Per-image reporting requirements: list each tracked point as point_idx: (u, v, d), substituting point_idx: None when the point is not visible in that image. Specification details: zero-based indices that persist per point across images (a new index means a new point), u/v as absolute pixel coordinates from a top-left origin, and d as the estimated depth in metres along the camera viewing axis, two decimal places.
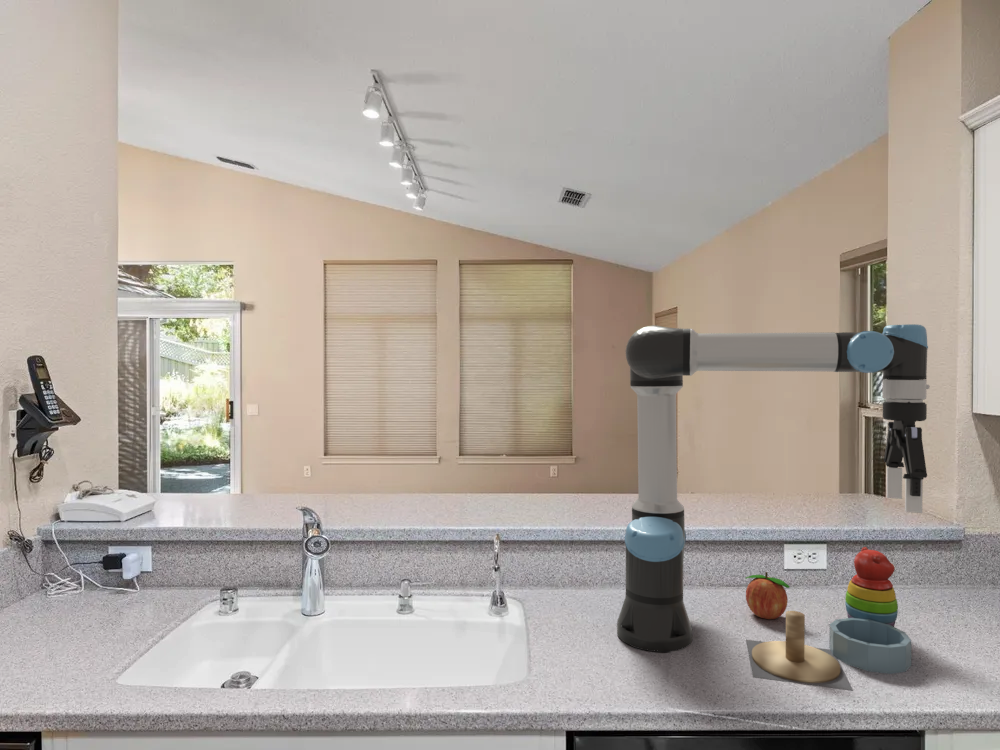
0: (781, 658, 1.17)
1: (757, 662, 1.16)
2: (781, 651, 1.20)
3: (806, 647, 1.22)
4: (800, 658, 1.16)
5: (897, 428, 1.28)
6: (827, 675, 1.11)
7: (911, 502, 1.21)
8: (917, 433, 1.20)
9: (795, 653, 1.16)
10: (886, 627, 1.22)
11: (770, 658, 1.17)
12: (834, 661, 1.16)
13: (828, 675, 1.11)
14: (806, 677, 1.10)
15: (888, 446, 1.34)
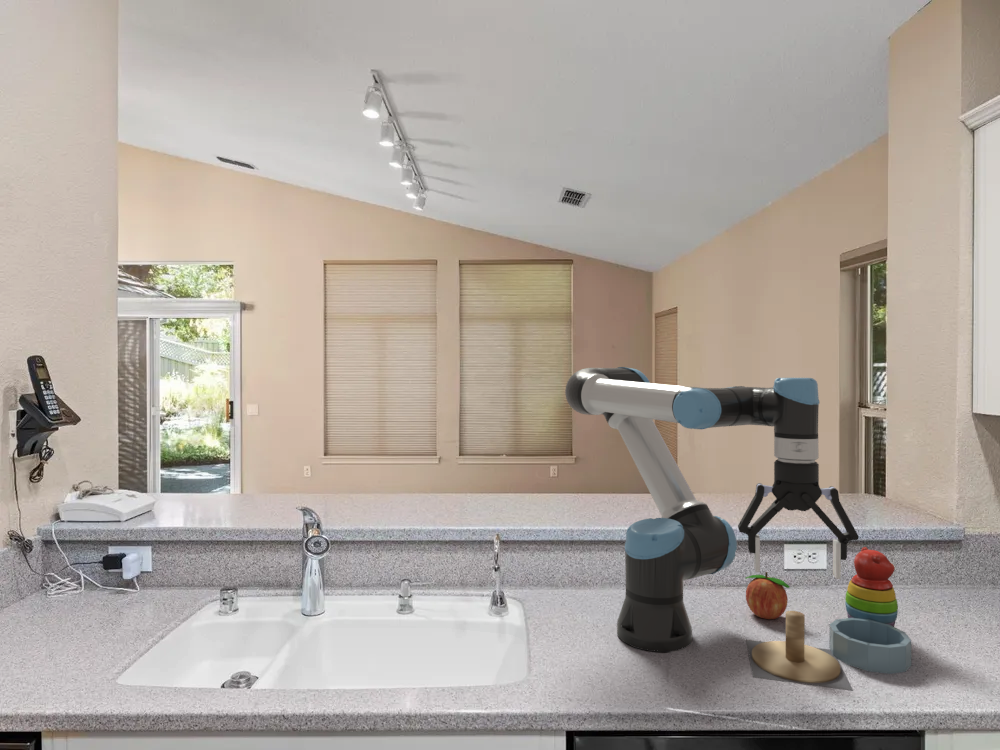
0: (781, 658, 1.17)
1: (757, 662, 1.16)
2: (781, 651, 1.20)
3: (806, 647, 1.22)
4: (800, 658, 1.16)
5: None
6: (827, 675, 1.11)
7: (754, 559, 1.19)
8: (756, 490, 1.18)
9: (795, 653, 1.16)
10: (886, 627, 1.22)
11: (770, 658, 1.17)
12: (834, 661, 1.16)
13: (828, 675, 1.11)
14: (806, 677, 1.10)
15: None
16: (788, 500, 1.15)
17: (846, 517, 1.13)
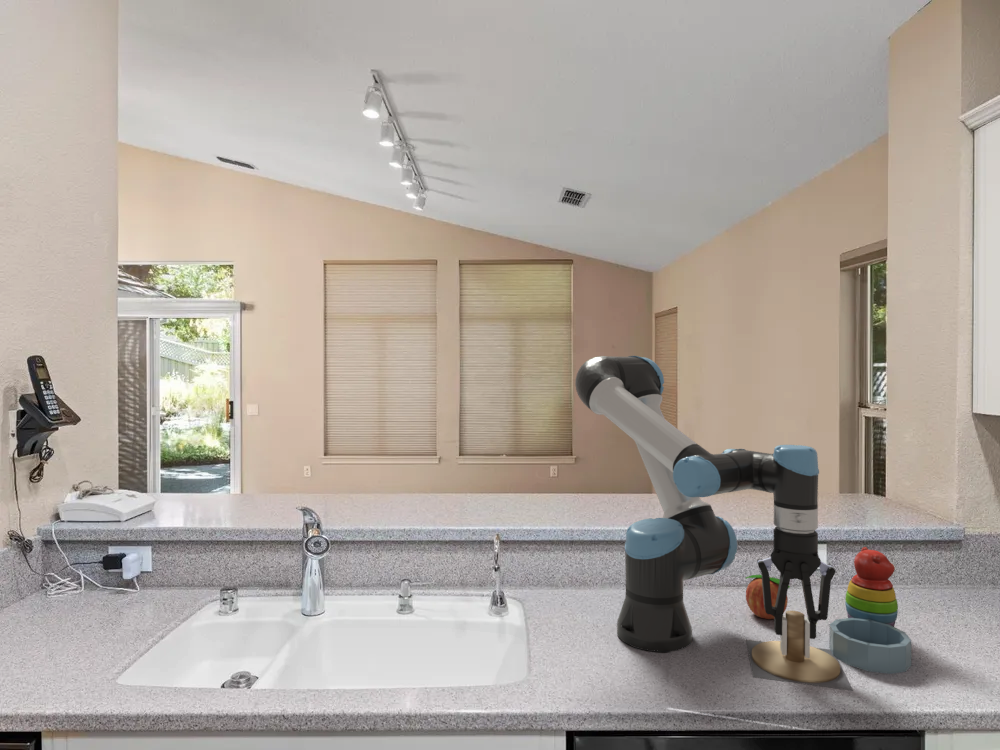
0: (780, 658, 1.17)
1: (757, 662, 1.16)
2: None
3: None
4: (800, 658, 1.16)
5: None
6: (827, 674, 1.11)
7: (781, 640, 1.18)
8: None
9: (795, 653, 1.16)
10: (886, 627, 1.22)
11: (770, 658, 1.17)
12: (834, 661, 1.16)
13: (828, 675, 1.11)
14: (806, 677, 1.10)
15: None
16: (790, 570, 1.16)
17: (827, 597, 1.14)
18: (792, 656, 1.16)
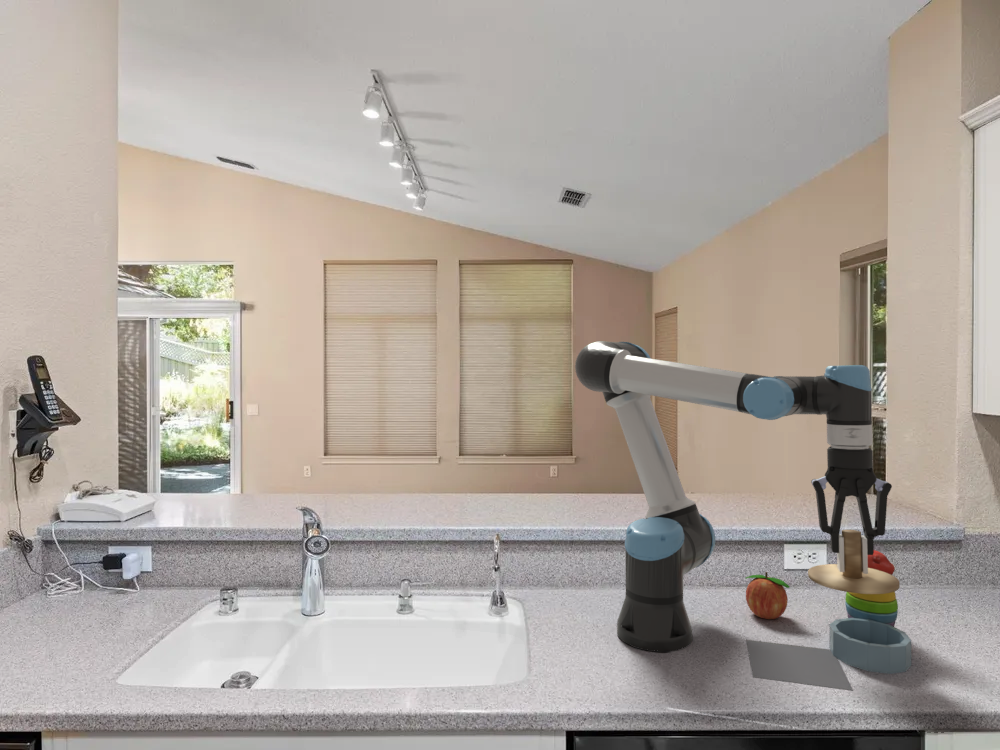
0: (838, 576, 1.18)
1: (814, 579, 1.17)
2: (838, 571, 1.21)
3: None
4: (857, 574, 1.16)
5: None
6: (887, 587, 1.12)
7: (837, 558, 1.19)
8: (814, 487, 1.20)
9: (853, 569, 1.17)
10: (886, 627, 1.22)
11: (827, 576, 1.18)
12: (892, 577, 1.17)
13: (888, 587, 1.12)
14: (865, 588, 1.11)
15: (876, 509, 1.18)
16: (845, 486, 1.17)
17: (884, 512, 1.15)
18: (850, 573, 1.17)
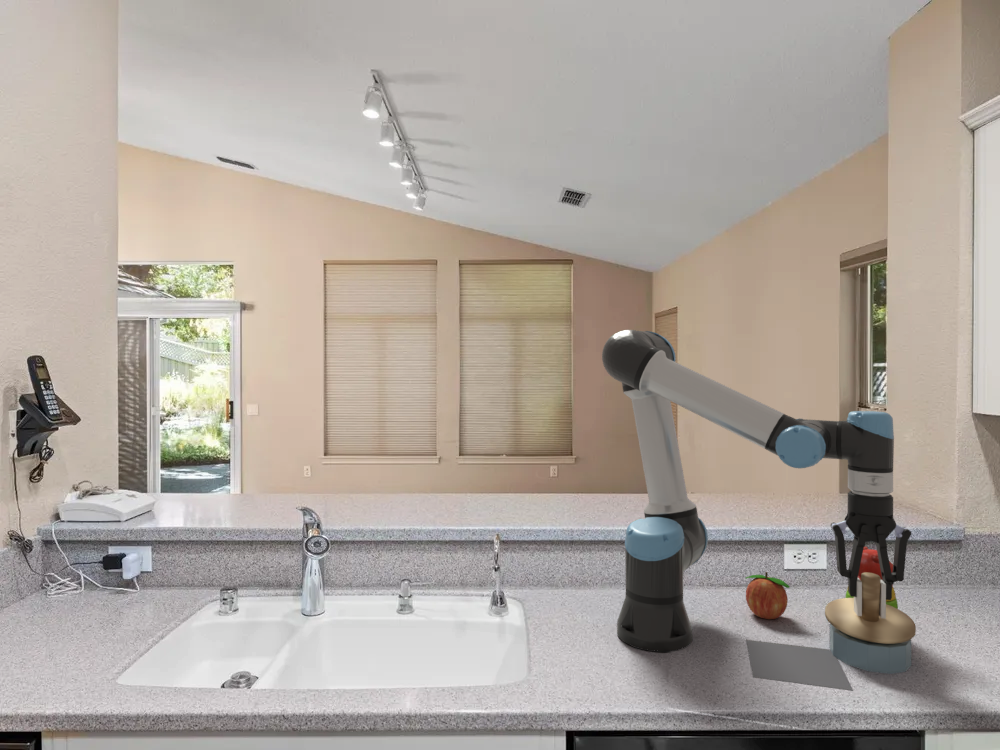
0: (855, 617, 1.20)
1: (832, 622, 1.19)
2: None
3: None
4: (874, 618, 1.18)
5: None
6: (904, 635, 1.14)
7: (855, 602, 1.21)
8: (834, 531, 1.21)
9: (870, 613, 1.18)
10: None
11: (844, 618, 1.20)
12: (908, 619, 1.19)
13: (905, 635, 1.14)
14: (883, 638, 1.13)
15: (894, 554, 1.19)
16: (866, 532, 1.18)
17: (903, 559, 1.17)
18: (867, 616, 1.19)
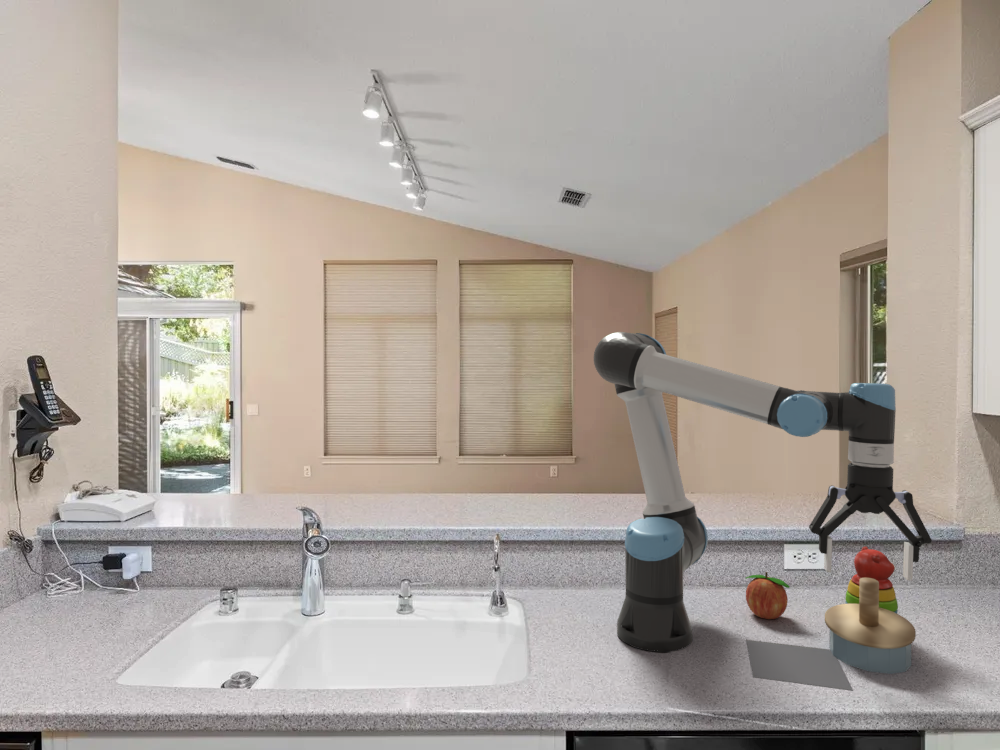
0: (854, 623, 1.20)
1: (832, 628, 1.19)
2: (854, 615, 1.23)
3: (878, 609, 1.24)
4: (874, 623, 1.18)
5: None
6: (904, 639, 1.14)
7: (825, 559, 1.22)
8: (830, 492, 1.21)
9: (870, 618, 1.18)
10: None
11: (844, 623, 1.20)
12: (908, 624, 1.19)
13: (904, 640, 1.13)
14: (883, 643, 1.13)
15: (910, 519, 1.18)
16: (862, 503, 1.18)
17: (920, 521, 1.16)
18: (867, 621, 1.19)
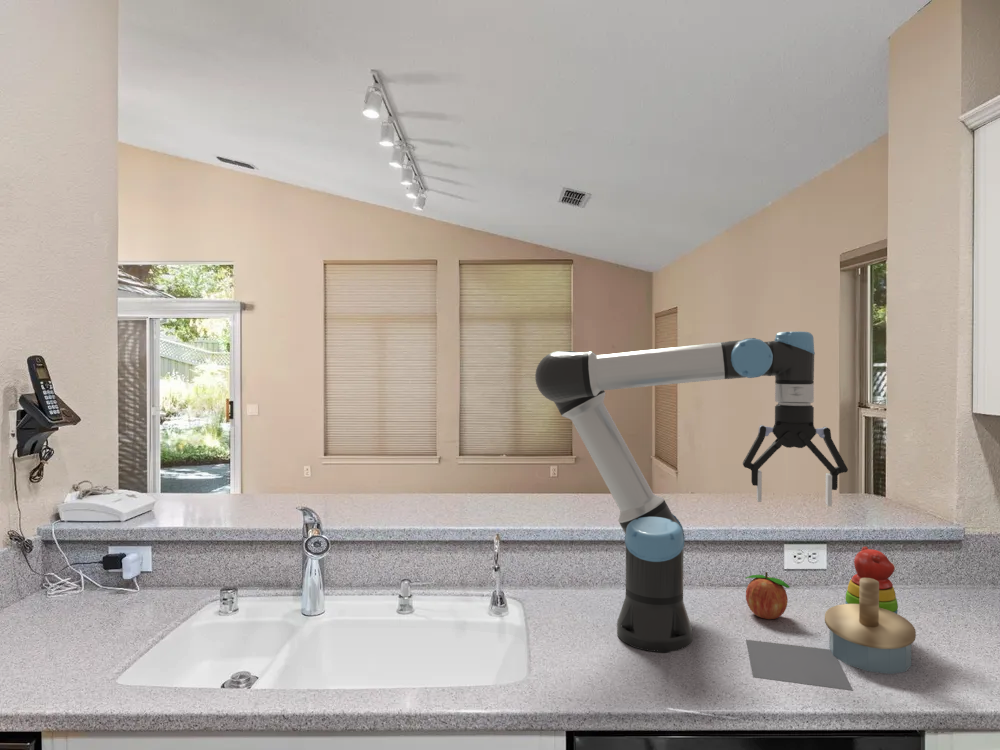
0: (854, 623, 1.20)
1: (832, 628, 1.19)
2: (854, 615, 1.23)
3: (878, 609, 1.24)
4: (874, 623, 1.18)
5: None
6: (904, 640, 1.14)
7: None
8: (759, 430, 1.35)
9: (870, 618, 1.18)
10: None
11: (844, 623, 1.20)
12: (908, 624, 1.18)
13: (905, 640, 1.13)
14: (883, 643, 1.13)
15: (830, 452, 1.33)
16: (786, 438, 1.33)
17: (837, 452, 1.30)
18: (867, 621, 1.19)
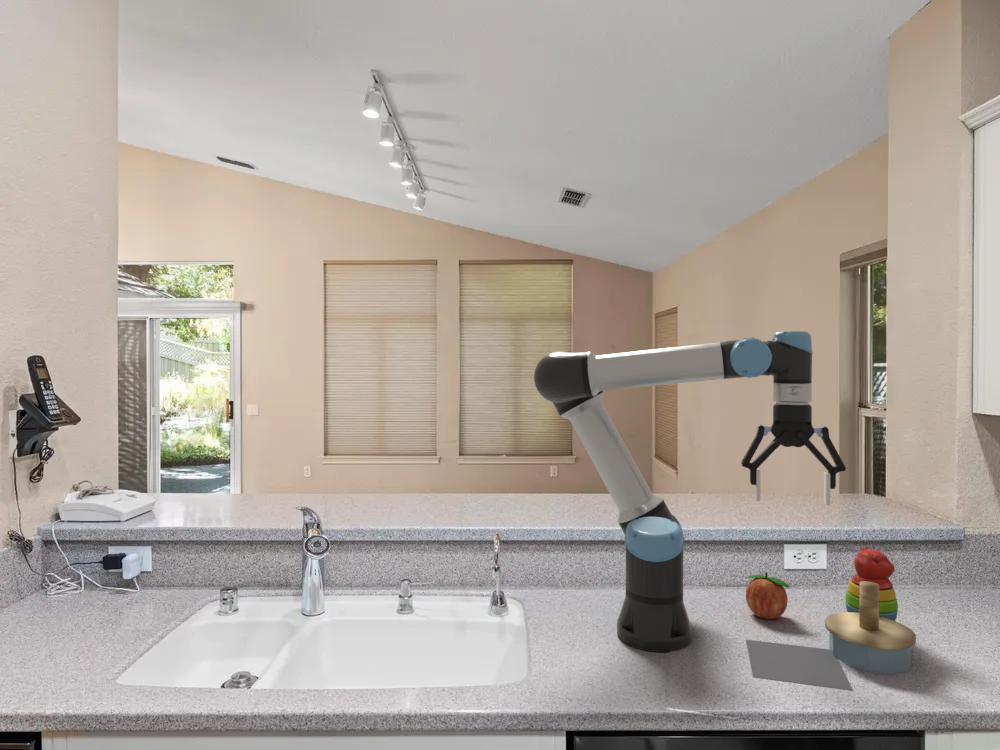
0: (855, 627, 1.20)
1: (832, 630, 1.19)
2: (854, 621, 1.23)
3: (878, 618, 1.24)
4: (874, 627, 1.18)
5: None
6: (904, 642, 1.13)
7: (755, 490, 1.37)
8: (757, 430, 1.36)
9: (870, 622, 1.18)
10: None
11: (844, 627, 1.20)
12: (908, 630, 1.18)
13: (905, 642, 1.13)
14: (883, 644, 1.13)
15: (828, 451, 1.33)
16: (785, 437, 1.33)
17: (835, 451, 1.31)
18: (867, 625, 1.19)
